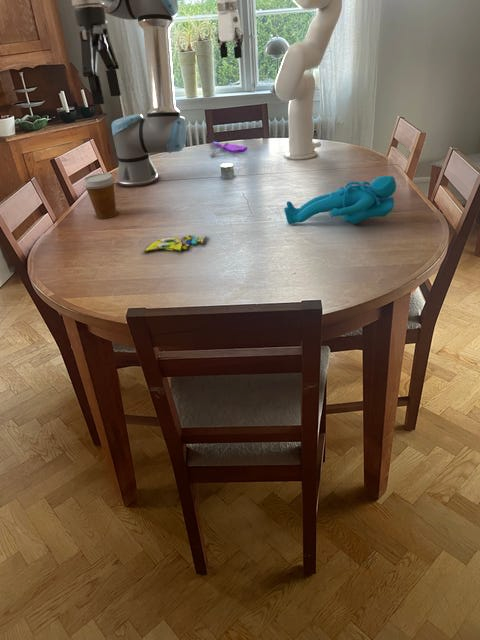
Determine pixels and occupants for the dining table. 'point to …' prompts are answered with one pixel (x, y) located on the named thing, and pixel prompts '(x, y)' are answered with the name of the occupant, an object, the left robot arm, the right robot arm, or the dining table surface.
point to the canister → (227, 171)
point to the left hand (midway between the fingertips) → (108, 99)
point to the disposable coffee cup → (101, 194)
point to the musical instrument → (229, 148)
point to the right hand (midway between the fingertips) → (231, 57)
